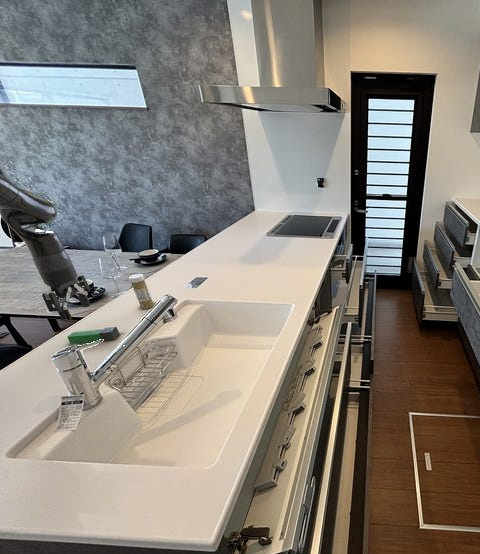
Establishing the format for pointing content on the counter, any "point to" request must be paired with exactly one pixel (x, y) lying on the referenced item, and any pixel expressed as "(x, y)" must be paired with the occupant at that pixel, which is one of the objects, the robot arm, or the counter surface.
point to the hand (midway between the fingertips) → (77, 312)
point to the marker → (94, 335)
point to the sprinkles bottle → (141, 291)
